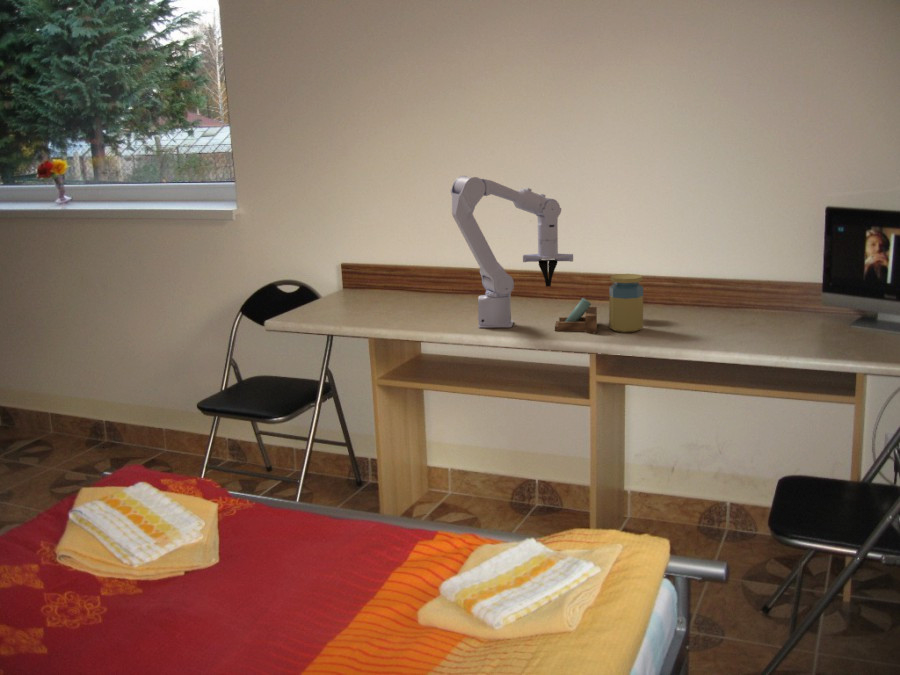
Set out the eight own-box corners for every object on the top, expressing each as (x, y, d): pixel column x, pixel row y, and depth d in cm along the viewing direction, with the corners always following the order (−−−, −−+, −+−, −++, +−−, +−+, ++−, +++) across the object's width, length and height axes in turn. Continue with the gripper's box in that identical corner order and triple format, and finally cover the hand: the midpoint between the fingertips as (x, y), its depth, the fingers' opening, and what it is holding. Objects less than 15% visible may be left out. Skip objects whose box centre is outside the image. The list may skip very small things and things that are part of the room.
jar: (641, 334, 253) (642, 279, 249) (607, 333, 255) (607, 279, 252) (644, 326, 261) (644, 273, 258) (611, 325, 264) (611, 273, 261)
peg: (564, 323, 261) (582, 299, 259) (564, 320, 264) (582, 296, 262) (573, 329, 261) (591, 305, 259) (573, 326, 264) (590, 302, 262)
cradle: (554, 332, 258) (554, 316, 257) (556, 323, 269) (556, 307, 268) (596, 332, 256) (596, 315, 255) (596, 323, 268) (596, 306, 266)
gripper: (521, 242, 267) (522, 288, 271) (572, 241, 265) (572, 288, 268) (523, 238, 274) (524, 284, 277) (573, 237, 272) (573, 283, 275)
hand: (548, 286), depth 273 cm, fingers closed
